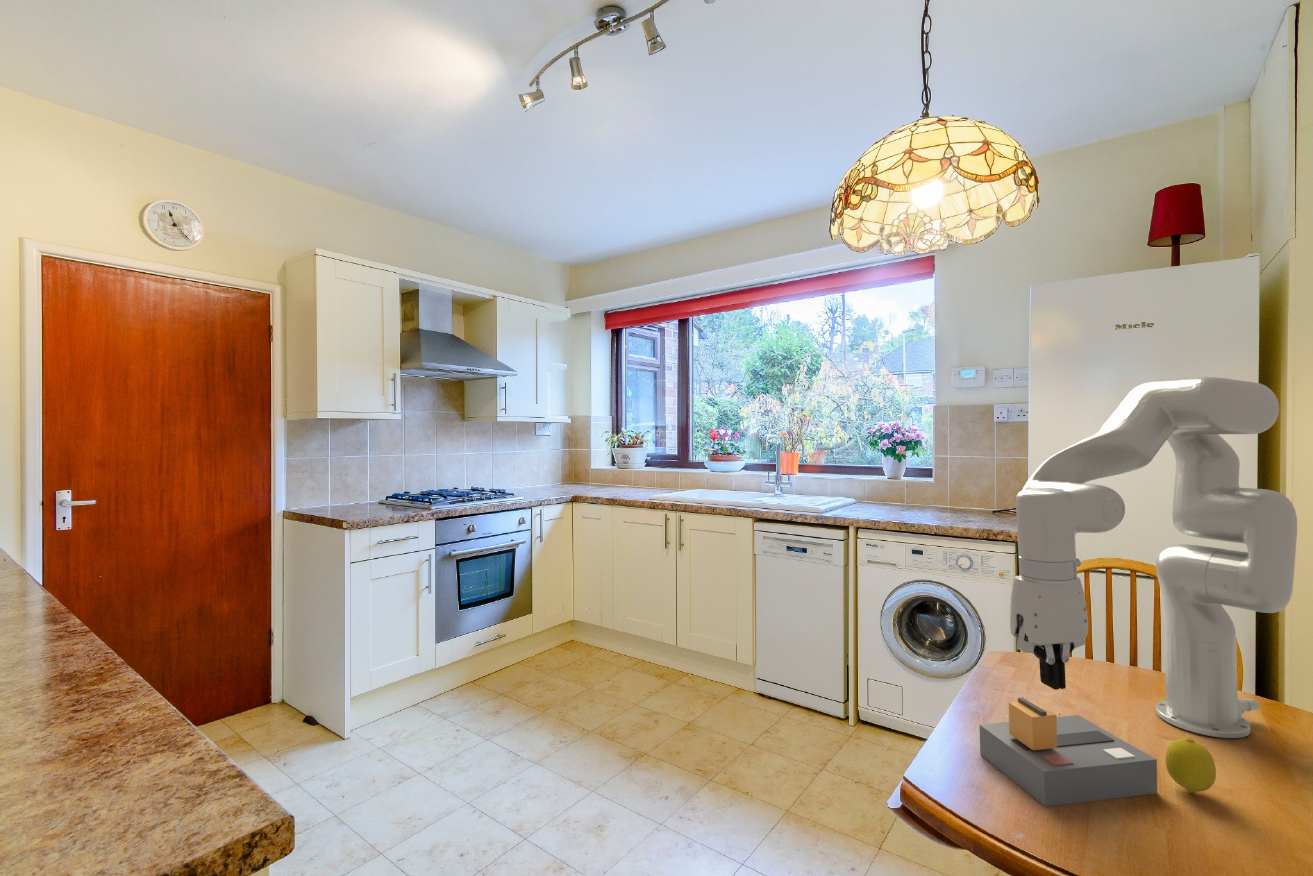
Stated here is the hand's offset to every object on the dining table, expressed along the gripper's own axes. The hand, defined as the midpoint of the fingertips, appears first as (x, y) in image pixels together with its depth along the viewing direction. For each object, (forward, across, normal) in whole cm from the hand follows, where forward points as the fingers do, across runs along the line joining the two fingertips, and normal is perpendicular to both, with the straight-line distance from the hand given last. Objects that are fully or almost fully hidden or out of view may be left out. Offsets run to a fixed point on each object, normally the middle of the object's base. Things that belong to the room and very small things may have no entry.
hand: (1053, 685), depth 94 cm
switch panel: (+14, -1, 0) cm, 14 cm away
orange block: (+8, +4, 0) cm, 9 cm away
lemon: (+14, -14, +8) cm, 22 cm away
